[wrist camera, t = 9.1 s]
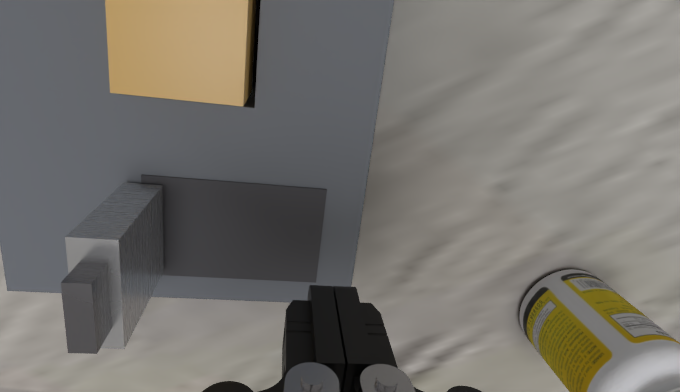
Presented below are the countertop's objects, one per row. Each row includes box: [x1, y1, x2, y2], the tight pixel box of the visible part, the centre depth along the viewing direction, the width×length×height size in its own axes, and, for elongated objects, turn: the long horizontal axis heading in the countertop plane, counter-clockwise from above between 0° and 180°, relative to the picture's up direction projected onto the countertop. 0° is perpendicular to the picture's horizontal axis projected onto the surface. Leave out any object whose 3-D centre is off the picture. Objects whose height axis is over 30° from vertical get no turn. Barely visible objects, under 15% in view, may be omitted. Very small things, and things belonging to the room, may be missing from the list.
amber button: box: [105, 0, 257, 107], centre depth 17 cm, size 4×4×4 cm
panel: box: [0, 0, 394, 302], centre depth 18 cm, size 21×15×3 cm
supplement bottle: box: [519, 269, 680, 392], centre depth 22 cm, size 5×5×10 cm
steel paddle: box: [61, 183, 164, 354], centre depth 16 cm, size 4×2×6 cm, turn 173°
